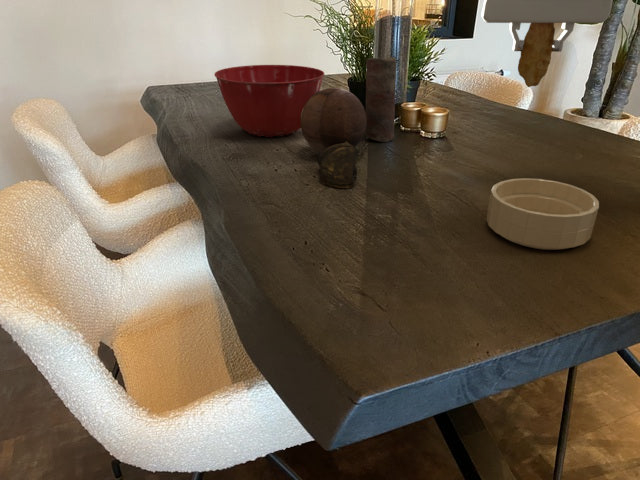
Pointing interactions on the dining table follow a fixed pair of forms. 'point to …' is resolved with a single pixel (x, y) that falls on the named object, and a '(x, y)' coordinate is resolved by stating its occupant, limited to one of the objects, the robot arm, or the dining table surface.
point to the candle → (380, 98)
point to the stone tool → (536, 53)
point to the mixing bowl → (268, 96)
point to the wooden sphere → (333, 119)
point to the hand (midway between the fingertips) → (536, 51)
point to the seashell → (338, 165)
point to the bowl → (542, 213)
